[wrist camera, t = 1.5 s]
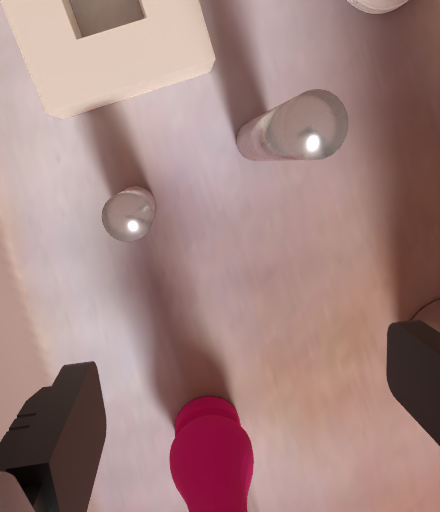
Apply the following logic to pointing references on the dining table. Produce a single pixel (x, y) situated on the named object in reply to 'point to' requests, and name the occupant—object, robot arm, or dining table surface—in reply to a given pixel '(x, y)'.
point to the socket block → (108, 52)
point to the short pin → (129, 213)
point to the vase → (377, 5)
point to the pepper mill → (211, 457)
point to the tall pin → (296, 129)
